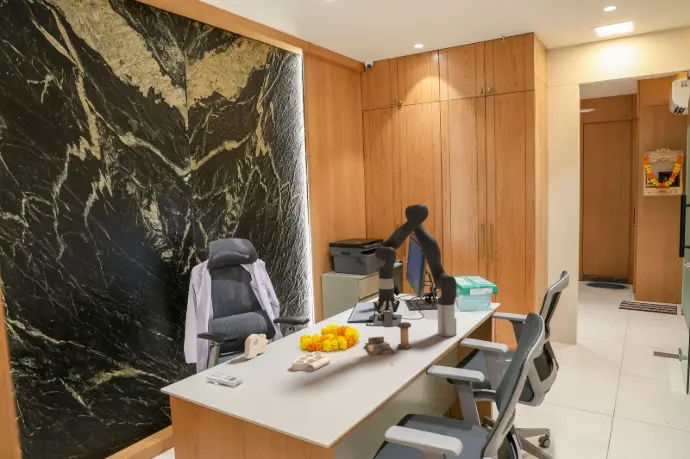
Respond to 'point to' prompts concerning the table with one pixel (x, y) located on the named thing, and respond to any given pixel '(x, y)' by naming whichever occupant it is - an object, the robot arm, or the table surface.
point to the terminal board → (378, 346)
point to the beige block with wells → (310, 361)
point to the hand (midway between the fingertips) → (386, 320)
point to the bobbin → (404, 335)
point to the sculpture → (395, 294)
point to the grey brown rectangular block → (387, 319)
